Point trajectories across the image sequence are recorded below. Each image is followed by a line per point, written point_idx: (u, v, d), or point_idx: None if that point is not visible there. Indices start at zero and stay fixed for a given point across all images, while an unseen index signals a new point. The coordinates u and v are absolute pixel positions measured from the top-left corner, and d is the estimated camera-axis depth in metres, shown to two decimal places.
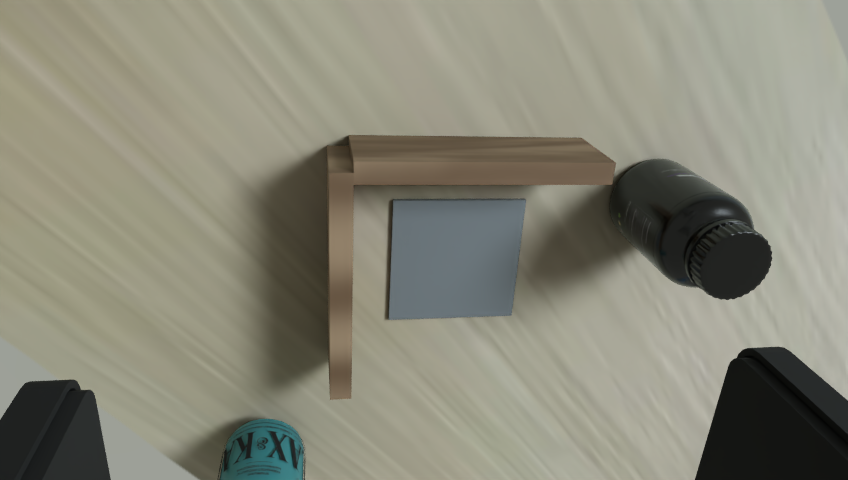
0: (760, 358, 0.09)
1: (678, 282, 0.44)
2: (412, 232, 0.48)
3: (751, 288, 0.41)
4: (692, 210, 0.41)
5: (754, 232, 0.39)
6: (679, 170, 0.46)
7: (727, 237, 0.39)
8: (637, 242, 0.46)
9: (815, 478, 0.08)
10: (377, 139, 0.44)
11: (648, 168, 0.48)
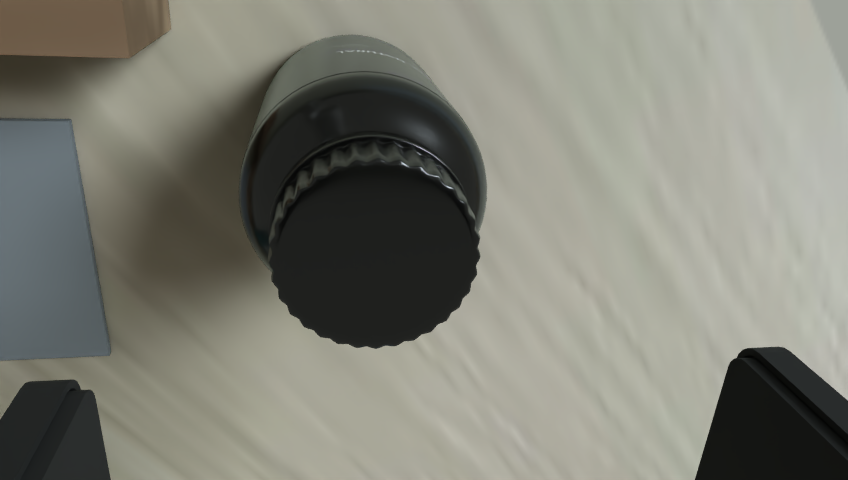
0: (760, 358, 0.09)
1: None
2: None
3: (435, 319, 0.15)
4: (296, 114, 0.16)
5: (413, 162, 0.14)
6: (358, 45, 0.21)
7: (326, 175, 0.13)
8: None
9: (815, 478, 0.08)
10: None
11: (310, 48, 0.22)
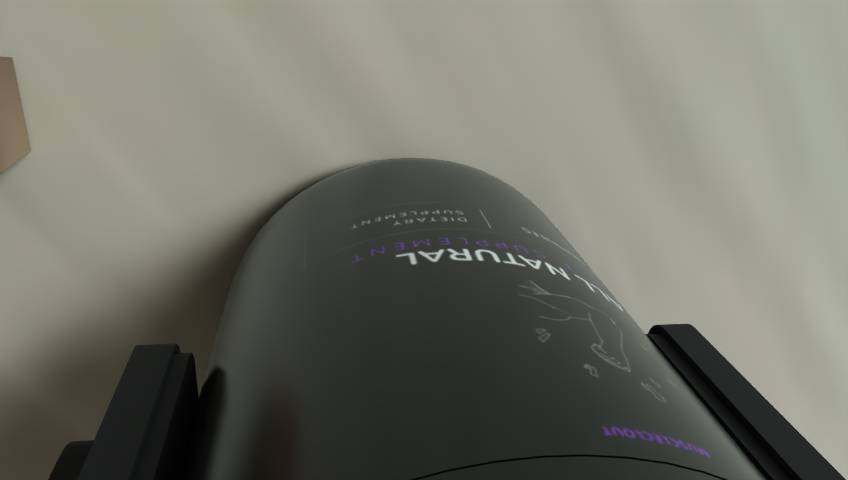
0: (665, 334, 0.10)
1: None
2: None
3: None
4: None
5: None
6: (443, 219, 0.09)
7: None
8: None
9: None
10: None
11: (326, 201, 0.10)
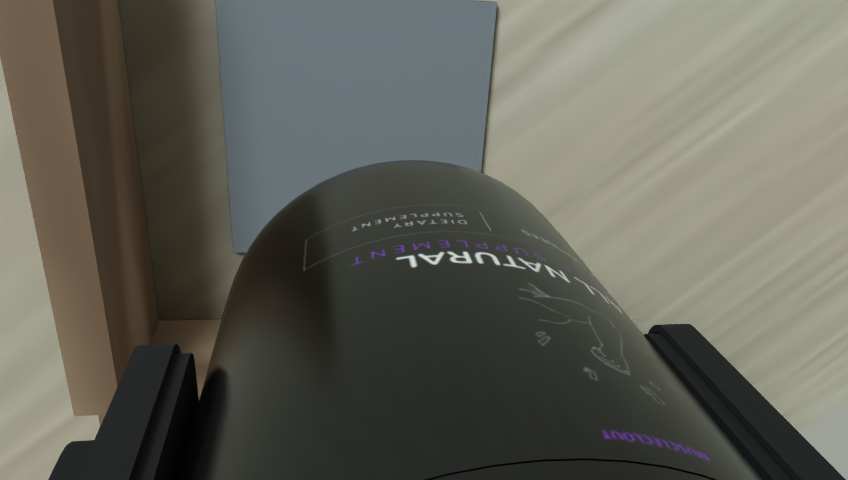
0: (665, 334, 0.10)
1: None
2: None
3: None
4: None
5: None
6: (443, 221, 0.09)
7: None
8: None
9: None
10: None
11: (326, 203, 0.10)
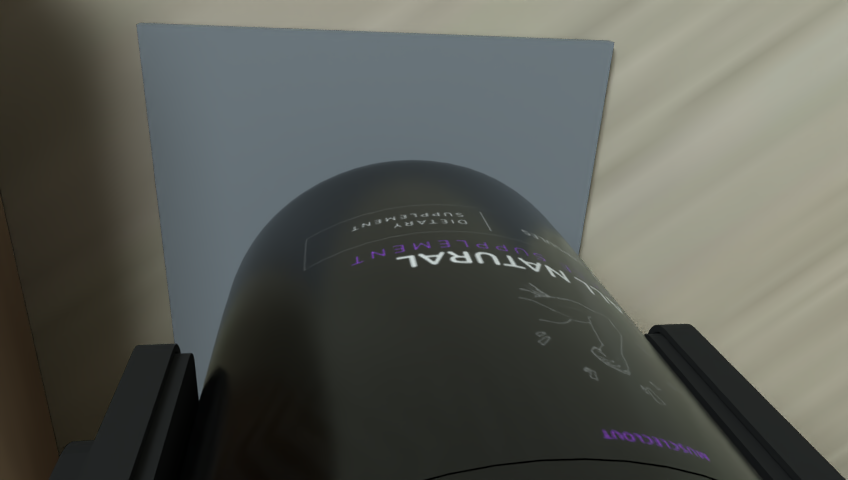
0: (665, 334, 0.10)
1: None
2: None
3: None
4: None
5: None
6: (443, 221, 0.09)
7: None
8: None
9: None
10: None
11: (326, 203, 0.10)
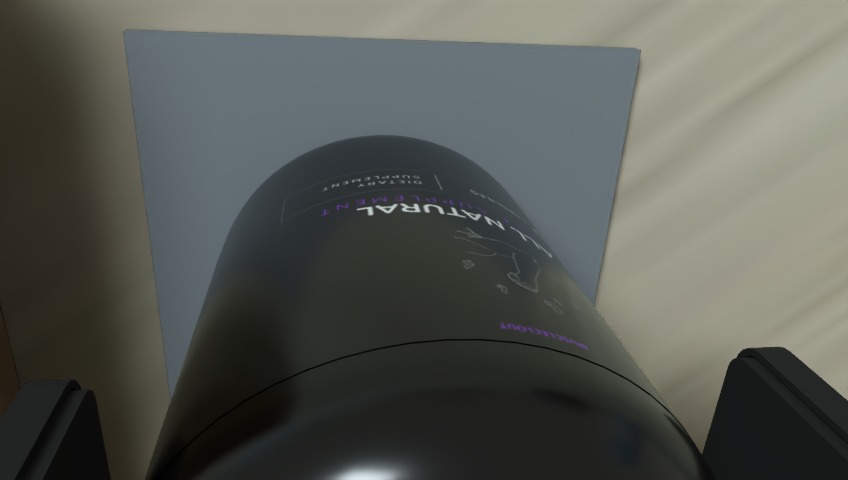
0: (760, 358, 0.09)
1: None
2: None
3: None
4: None
5: None
6: (401, 182, 0.10)
7: None
8: None
9: (815, 478, 0.08)
10: None
11: (304, 170, 0.11)
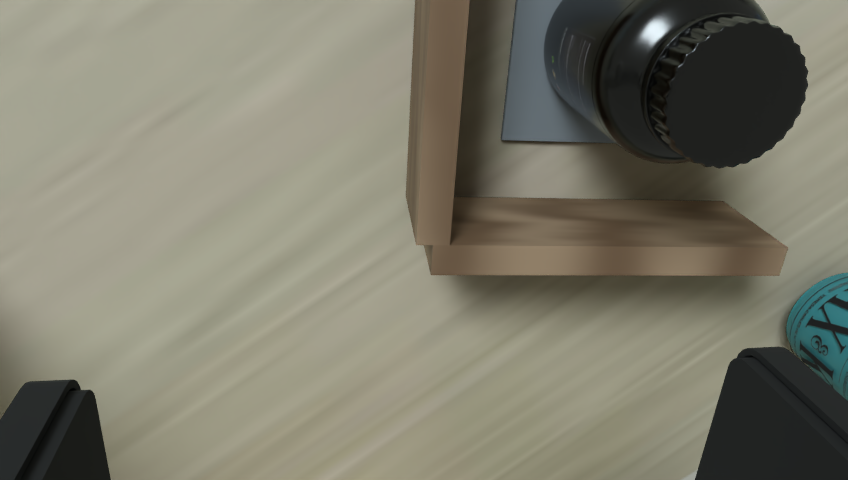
0: (760, 358, 0.09)
1: (637, 150, 0.25)
2: (554, 112, 0.33)
3: (765, 147, 0.22)
4: (659, 4, 0.22)
5: (773, 26, 0.20)
6: None
7: (718, 32, 0.20)
8: (574, 93, 0.27)
9: (815, 478, 0.08)
10: (409, 167, 0.33)
11: None
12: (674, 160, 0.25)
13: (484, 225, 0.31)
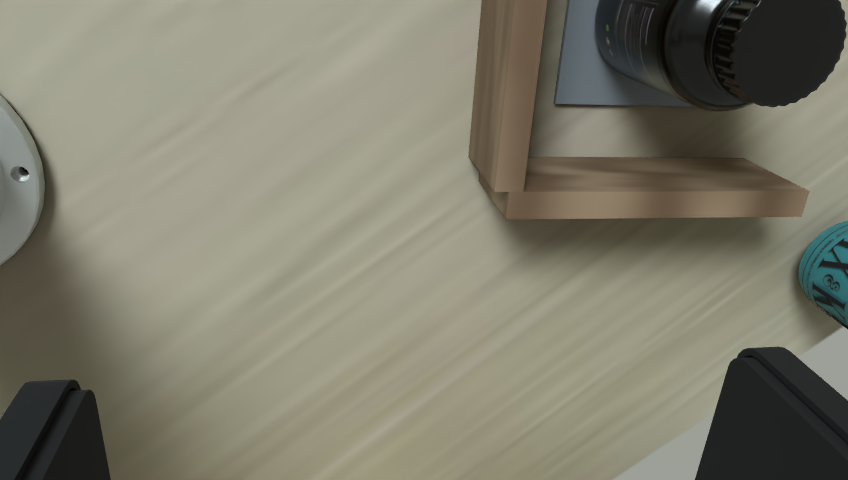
0: (760, 358, 0.09)
1: (695, 99, 0.29)
2: (601, 78, 0.37)
3: (811, 88, 0.26)
4: None
5: None
6: None
7: None
8: (633, 54, 0.31)
9: (815, 478, 0.08)
10: (475, 129, 0.36)
11: None
12: (726, 107, 0.29)
13: (546, 177, 0.35)
